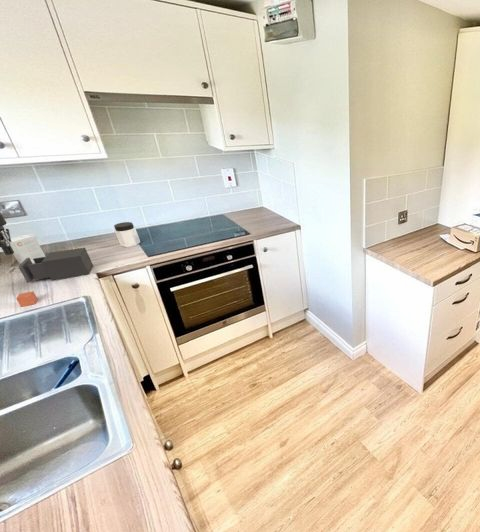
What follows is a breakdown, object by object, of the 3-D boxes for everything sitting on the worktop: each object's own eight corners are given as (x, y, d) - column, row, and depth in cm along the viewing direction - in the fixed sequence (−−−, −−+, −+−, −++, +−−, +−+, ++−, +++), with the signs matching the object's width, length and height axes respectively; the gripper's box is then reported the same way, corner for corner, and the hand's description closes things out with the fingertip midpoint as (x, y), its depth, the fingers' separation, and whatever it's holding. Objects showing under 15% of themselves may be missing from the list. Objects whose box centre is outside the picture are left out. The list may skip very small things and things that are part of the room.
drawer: (10, 285, 139) (0, 269, 135) (18, 276, 146) (8, 260, 142) (62, 276, 147) (54, 261, 143) (68, 268, 154) (60, 253, 151)
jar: (134, 247, 180) (127, 226, 174) (118, 247, 178) (110, 227, 173) (143, 240, 188) (135, 221, 182) (127, 241, 186) (119, 221, 181)
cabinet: (51, 281, 145) (41, 261, 141) (58, 271, 153) (48, 252, 149) (89, 274, 151) (80, 255, 147) (93, 265, 159) (85, 247, 155)
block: (21, 306, 127) (15, 298, 125) (24, 302, 130) (19, 293, 128) (35, 304, 129) (30, 295, 127) (38, 299, 132) (33, 291, 130)
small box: (39, 257, 165) (26, 233, 159) (47, 259, 164) (34, 235, 158) (18, 263, 159) (4, 239, 153) (27, 265, 157) (13, 241, 151)
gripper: (-20, 211, 131) (3, 250, 139) (-35, 221, 121) (-10, 262, 129) (6, 209, 134) (27, 246, 142) (-6, 218, 124) (17, 258, 132)
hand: (10, 254), depth 135 cm, fingers closed
